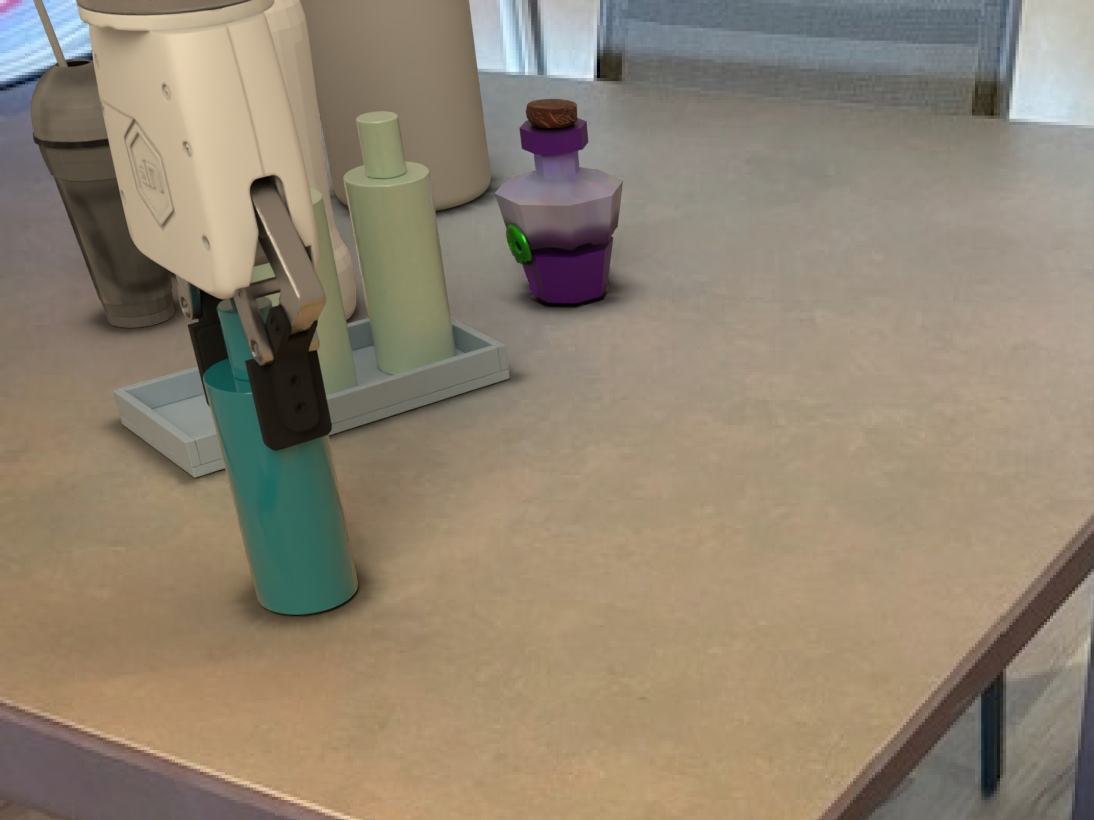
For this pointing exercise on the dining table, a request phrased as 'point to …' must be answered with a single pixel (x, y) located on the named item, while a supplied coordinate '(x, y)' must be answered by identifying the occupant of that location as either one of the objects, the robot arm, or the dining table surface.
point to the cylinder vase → (402, 87)
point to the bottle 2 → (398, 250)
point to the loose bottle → (279, 492)
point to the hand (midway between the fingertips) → (269, 417)
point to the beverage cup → (94, 190)
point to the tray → (188, 429)
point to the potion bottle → (560, 210)
